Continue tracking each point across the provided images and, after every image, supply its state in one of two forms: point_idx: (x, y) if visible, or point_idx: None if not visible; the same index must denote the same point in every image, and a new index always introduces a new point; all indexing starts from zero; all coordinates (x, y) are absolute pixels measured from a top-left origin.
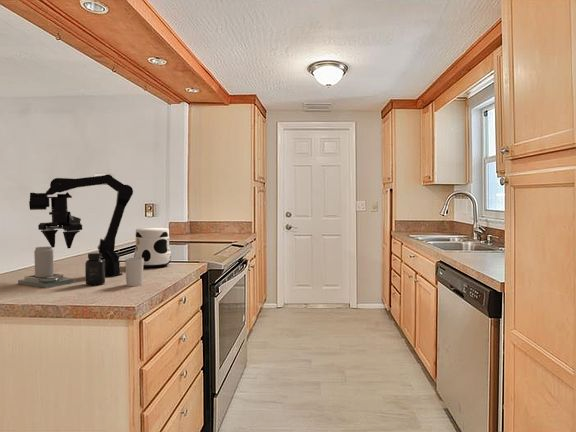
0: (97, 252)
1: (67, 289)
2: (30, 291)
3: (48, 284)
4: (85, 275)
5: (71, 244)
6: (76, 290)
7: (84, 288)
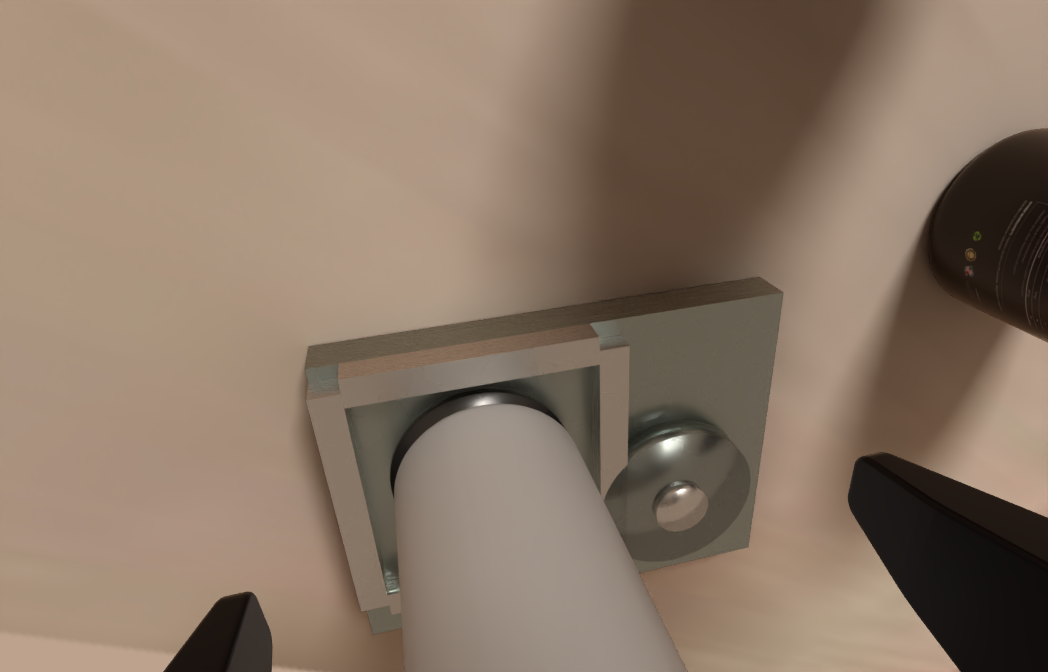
0: None
1: (907, 451)
2: (722, 612)
3: (745, 525)
4: (1020, 328)
5: (984, 498)
6: (987, 429)
7: (1004, 364)
